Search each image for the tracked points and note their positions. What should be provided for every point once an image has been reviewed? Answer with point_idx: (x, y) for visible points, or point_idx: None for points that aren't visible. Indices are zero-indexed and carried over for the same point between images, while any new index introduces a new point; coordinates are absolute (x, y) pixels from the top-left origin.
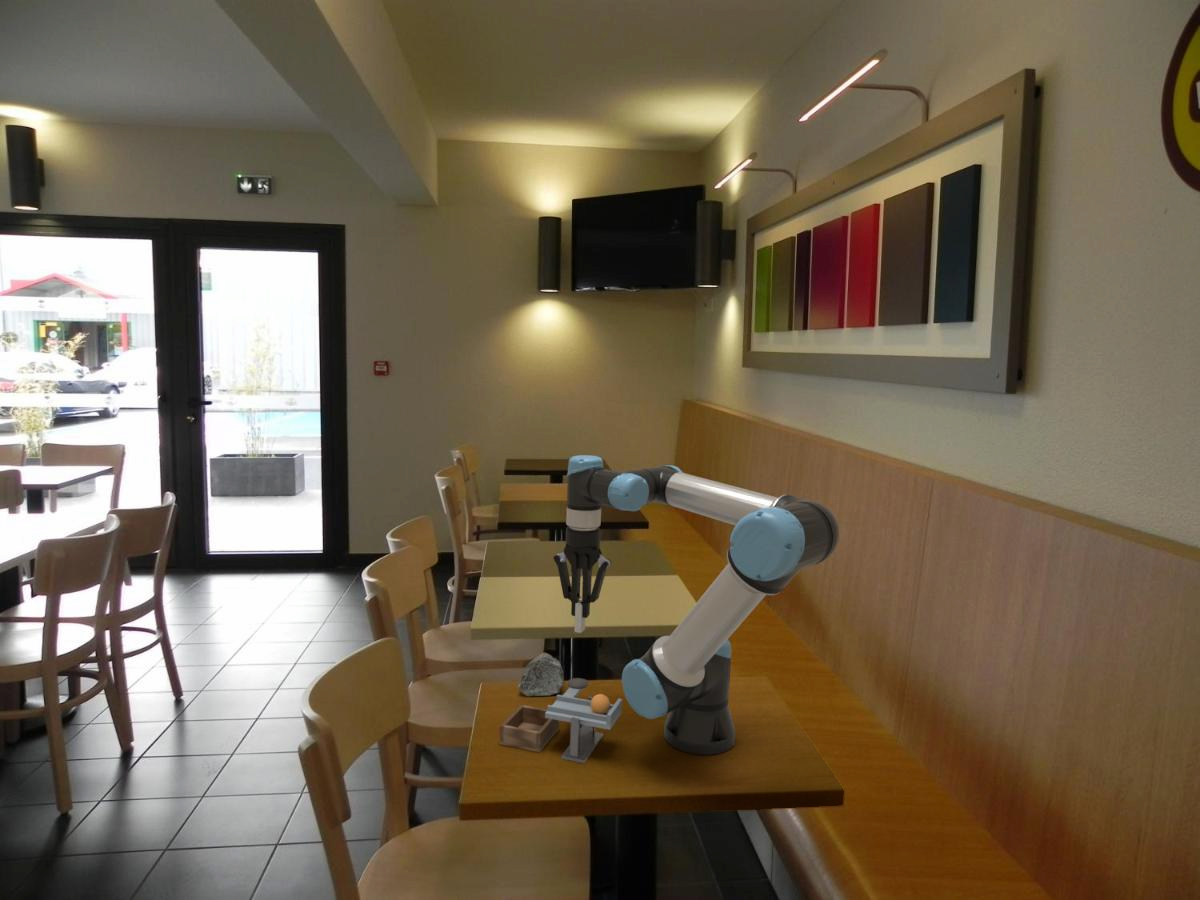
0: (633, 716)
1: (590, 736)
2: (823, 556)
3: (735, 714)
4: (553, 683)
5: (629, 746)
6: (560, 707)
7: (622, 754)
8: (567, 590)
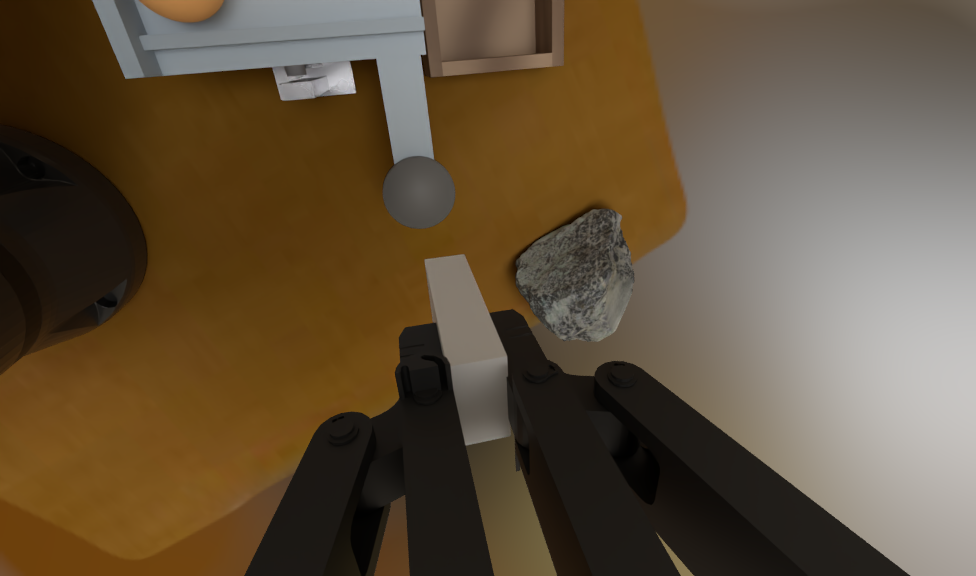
0: (277, 254)
1: None
2: None
3: (39, 400)
4: (537, 264)
5: None
6: None
7: None
8: (638, 422)
